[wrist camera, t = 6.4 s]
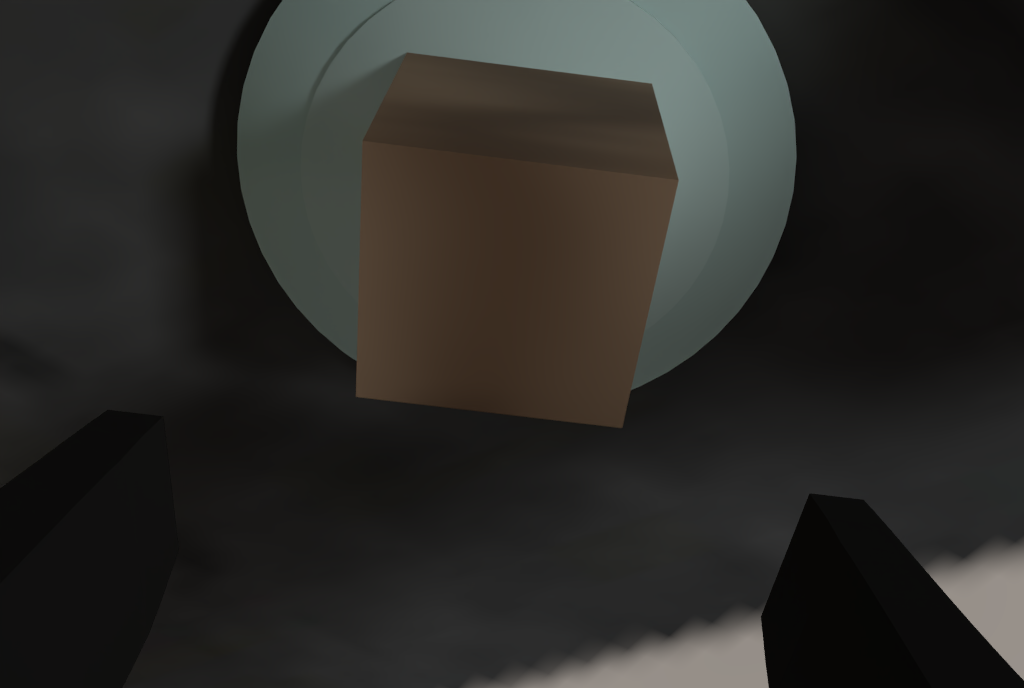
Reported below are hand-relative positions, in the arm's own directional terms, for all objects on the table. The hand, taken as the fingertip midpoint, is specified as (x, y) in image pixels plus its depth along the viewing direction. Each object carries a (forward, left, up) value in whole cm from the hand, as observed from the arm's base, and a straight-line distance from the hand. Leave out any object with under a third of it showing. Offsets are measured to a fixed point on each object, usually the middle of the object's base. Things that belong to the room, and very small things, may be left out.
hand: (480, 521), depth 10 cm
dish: (0, 0, -10) cm, 10 cm away
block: (0, 0, -9) cm, 9 cm away
